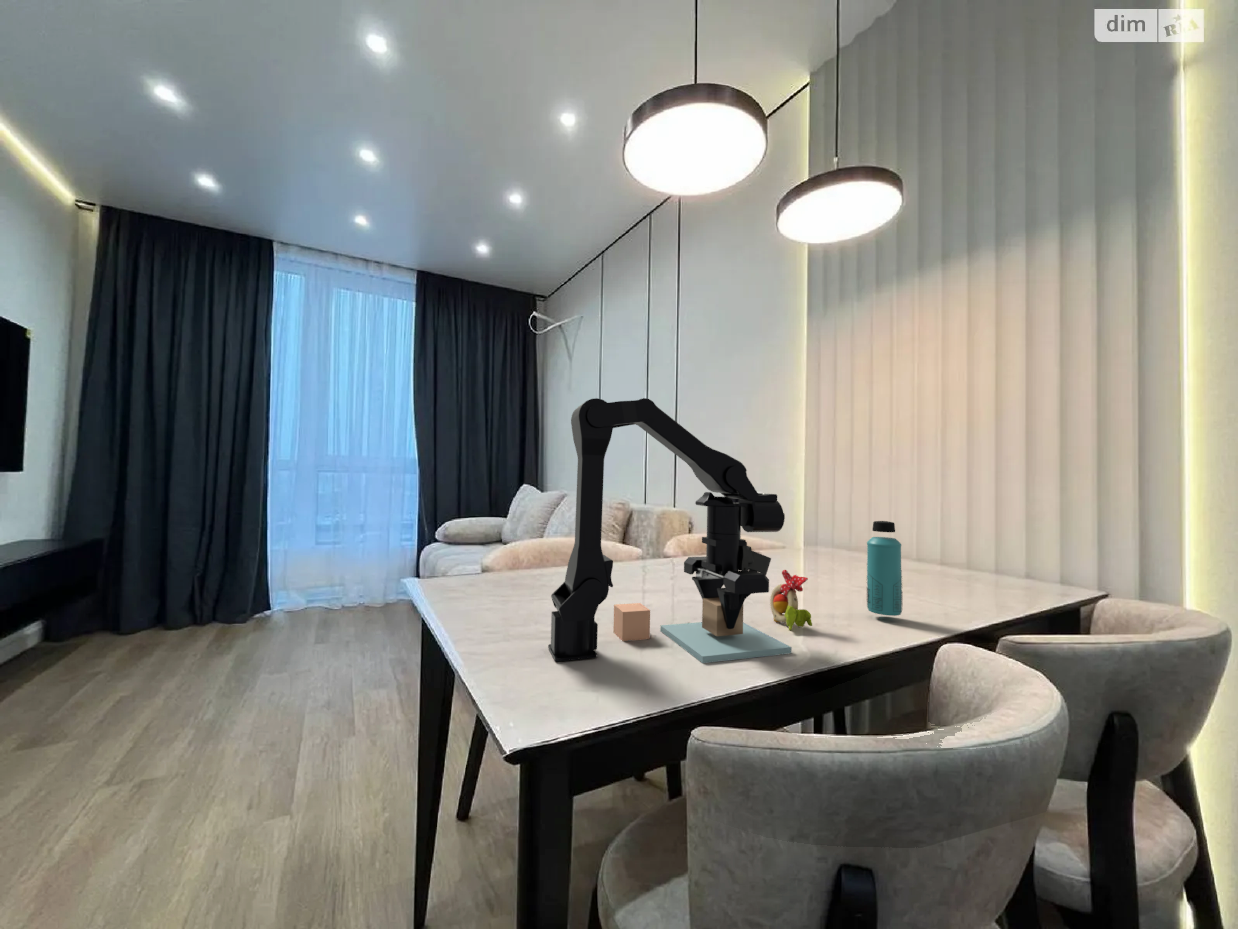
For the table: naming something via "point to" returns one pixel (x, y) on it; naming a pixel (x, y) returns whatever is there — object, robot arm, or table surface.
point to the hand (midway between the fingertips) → (721, 623)
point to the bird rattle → (789, 602)
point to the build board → (723, 643)
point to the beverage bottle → (884, 572)
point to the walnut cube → (718, 618)
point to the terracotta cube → (631, 621)
